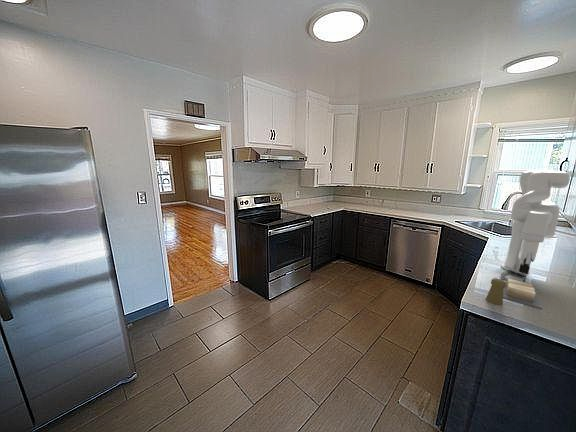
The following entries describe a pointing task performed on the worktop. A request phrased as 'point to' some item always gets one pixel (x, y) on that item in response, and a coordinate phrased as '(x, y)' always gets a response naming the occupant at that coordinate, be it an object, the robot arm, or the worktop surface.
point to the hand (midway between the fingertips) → (523, 272)
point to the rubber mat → (535, 303)
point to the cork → (496, 292)
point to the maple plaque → (520, 290)
